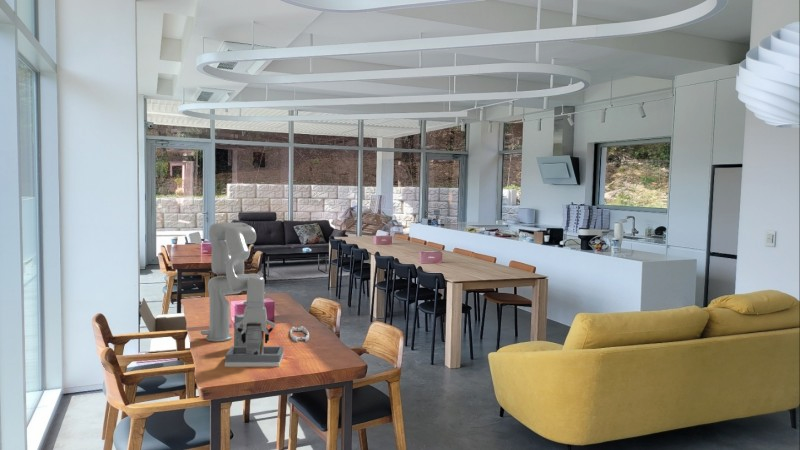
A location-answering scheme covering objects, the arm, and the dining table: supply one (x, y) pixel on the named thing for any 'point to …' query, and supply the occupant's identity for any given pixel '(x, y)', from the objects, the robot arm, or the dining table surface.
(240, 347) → the grey tray
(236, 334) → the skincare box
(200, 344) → the dining table surface
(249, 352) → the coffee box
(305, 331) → the grey bumpy ring
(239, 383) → the dining table surface
